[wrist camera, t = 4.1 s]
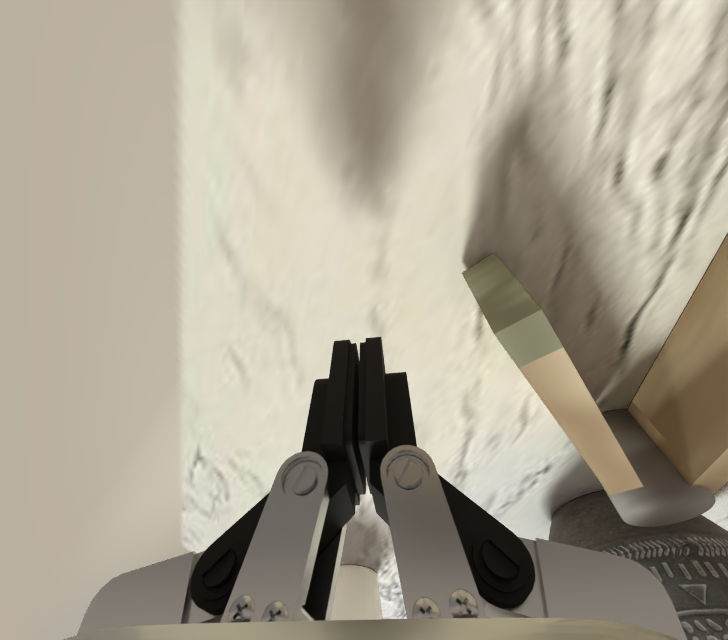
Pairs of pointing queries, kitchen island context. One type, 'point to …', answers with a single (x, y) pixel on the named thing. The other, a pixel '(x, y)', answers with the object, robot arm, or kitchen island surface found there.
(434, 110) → the kitchen island surface
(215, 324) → the kitchen island surface
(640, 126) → the kitchen island surface
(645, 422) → the tongs base
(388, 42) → the kitchen island surface
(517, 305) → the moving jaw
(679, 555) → the planter
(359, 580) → the cup
